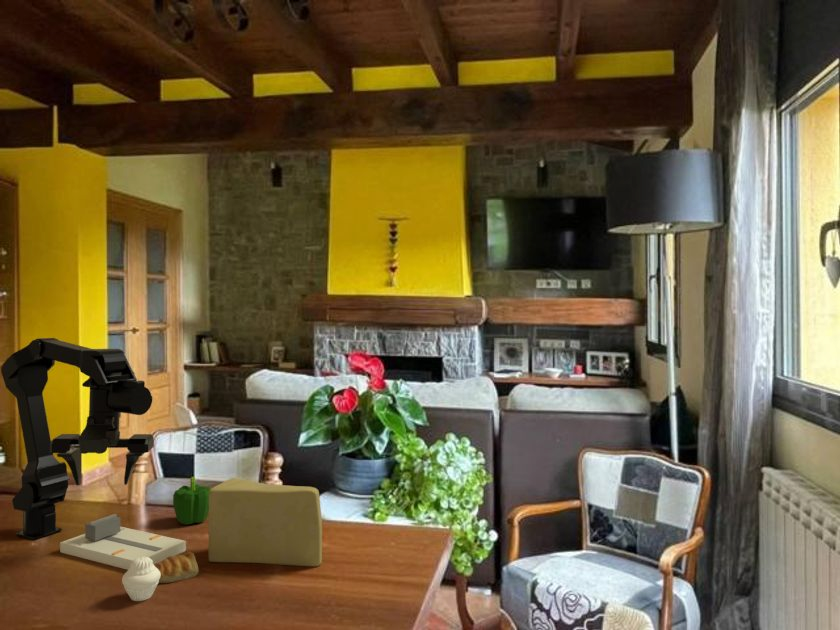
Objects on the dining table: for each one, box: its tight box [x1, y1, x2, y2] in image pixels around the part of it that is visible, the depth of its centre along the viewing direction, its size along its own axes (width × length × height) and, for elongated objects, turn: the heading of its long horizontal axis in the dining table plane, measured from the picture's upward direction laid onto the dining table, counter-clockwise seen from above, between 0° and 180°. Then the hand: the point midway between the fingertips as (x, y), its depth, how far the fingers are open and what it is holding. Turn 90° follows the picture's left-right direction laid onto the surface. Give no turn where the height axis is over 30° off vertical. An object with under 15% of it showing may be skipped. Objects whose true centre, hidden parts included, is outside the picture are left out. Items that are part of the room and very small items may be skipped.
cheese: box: [208, 477, 323, 568], centre depth 127 cm, size 22×10×15 cm, turn 76°
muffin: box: [121, 557, 161, 602], centre depth 110 cm, size 6×6×7 cm
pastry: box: [154, 551, 199, 584], centre depth 118 cm, size 9×7×4 cm
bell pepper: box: [172, 476, 211, 526], centre depth 149 cm, size 8×8×10 cm
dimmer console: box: [59, 526, 187, 571], centre depth 130 cm, size 22×12×2 cm, turn 65°
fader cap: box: [84, 513, 122, 541], centre depth 133 cm, size 3×6×4 cm, turn 155°
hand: (102, 484), depth 132 cm, fingers open, 9 cm apart
